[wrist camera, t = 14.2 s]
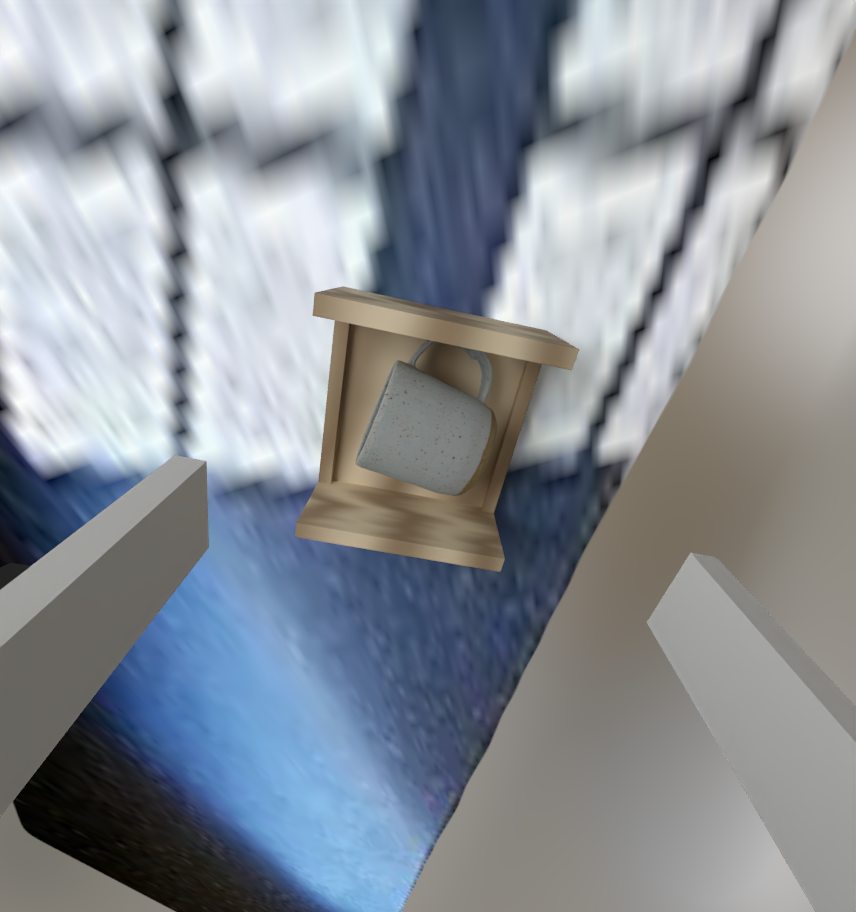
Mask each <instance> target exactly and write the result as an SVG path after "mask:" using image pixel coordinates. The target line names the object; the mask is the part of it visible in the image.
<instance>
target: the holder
mask: <svg viewBox="0 0 856 912" xmlns="http://www.w3.org/2000/svg"><path fill="white" fill-rule="evenodd" d="M313 316H317V317H322V318H326V319H331V320H335V325H334V334H333V344H332V354H331V364H330V374H329V384H328V393H327V403H326V413H325V423H324V433H323V443H322V453H321V462H320V472H319V482H318V484H317V486H316V487H315V489H314V491H313V493H312V495H311V497H310V499H309V501H308V502H307V504H306V506H305V508H304V510H303V512H302V514H301V515H300V517H299V519H298V521H297V523H296V536H295V537H299V538H305V539H311V540H317V541H323V542H328V543H334V544H340V545H346V546H352V547H358V548H364V549H370V550H375V551H381V552H387V553H393V554H399V555H405V556H411V557H416V558H422V559H428V560H434V561H440V562H446V563H452V564H458V565H463V566H469V567H475V568H481V569H487V570H493V571H499V572H500V571H501V568H502V565H503V563H504V560H505V558H504V554H503V550H502V546H501V541H500V537H499V533H498V529H497V525H496V521H495V517H494V511H495V508H496V505H497V501H498V498H499V495H500V492H501V489H502V486H503V483H504V480H505V477H506V473H507V470H508V467H509V464H510V461H511V458H512V455H513V452H514V448H515V445H516V442H517V439H518V436H519V433H520V430H521V427H522V424H523V420H524V417H525V414H526V411H527V408H528V405H529V402H530V399H531V395H532V392H533V389H534V386H535V383H536V380H537V377H538V374H539V371H540V367H541V364H545V365H550V366H555V367H559V368H564V369H569V370H572V368H573V365H574V362H575V359H576V356H577V354H578V351H579V349H577V348H575V347H574V346H572V345H570V344H568V343H567V342H565V341H563V340H561V339H560V338H558V337H556V336H555V335H553V334H551V333H549V332H548V331H545V330H541V329H536V328H532V327H527V326H522V325H518V324H513V323H509V322H504V321H499V320H495V319H490V318H485V317H481V316H476V315H472V314H467V313H462V312H458V311H453V310H449V309H444V308H439V307H435V306H430V305H426V304H421V303H416V302H412V301H407V300H402V299H398V298H393V297H389V296H384V295H379V294H375V293H370V292H366V291H361V290H356V289H352V288H347V287H338V288H334V289H329V290H325V291H321V292H316V293H315V296H314V309H313ZM427 340H431V341H436V343H434V344H432V345H430V346H429V347H428V348H427V349H426V350H425V351H424V352H423V353H422V354H421V355H420V356H419V358H418V359H417V361H416V363H415V365H416V368H417V369H419V370H421V371H423V372H425V373H427V374H429V375H431V376H432V377H434V378H436V379H438V380H441V381H442V382H444V383H446V384H448V385H450V386H451V387H453V388H456V389H458V390H460V391H462V392H465V393H467V394H469V395H471V396H473V397H475V398H477V396H478V393H479V390H480V386H481V379H482V373H481V368H480V364H479V362H478V360H473V359H471V357H470V356H469V354H467V353H466V352H465V351H464V350H462V349H460V348H459V347H464V348H469V349H474V350H478V351H483V352H486V353H487V355H488V357H489V360H490V363H491V366H492V383H491V388H490V391H489V394H488V397H487V398H486V400H485V404H486V406H488V407H489V408H490V409H491V410H492V411H493V412H494V415H495V417H496V421H497V434H496V440H495V443H494V447H493V451H492V453H491V456H490V458H489V461H488V463H487V465H486V467H485V469H484V471H483V473H482V475H481V476H480V478H479V479H478V481H477V482H476V484H475V485H474V486H473V487H472V488H471V489H470V490H468V491H467V492H466V493H464V494H462V495H458V496H452V495H445V494H439V493H435V492H432V491H429V490H427V489H424V488H421V487H418V486H416V485H413V484H409V483H406V482H403V481H400V480H397V479H394V478H391V477H388V476H385V475H382V474H380V473H377V472H373V471H370V470H367V469H364V468H361V467H359V466H358V465H356V463H355V461H356V457H357V453H358V450H359V447H360V444H361V441H362V438H363V435H364V433H365V430H366V427H367V425H368V422H369V420H370V417H371V415H372V412H373V410H374V407H375V405H376V402H377V400H378V398H379V395H380V393H381V390H382V389H383V387H384V384H385V382H386V379H387V377H388V375H389V373H390V371H391V368H392V367H393V365H394V363H395V362H396V361H398V360H400V361H402V362H405V363H408V362H409V360H410V358H411V357H412V356H413V355H414V353H415V352H416V351H417V349H418V348H419V347H420V346H421V345H422V344H423V343H424V342H425V341H427ZM457 346H459V347H457Z"/></svg>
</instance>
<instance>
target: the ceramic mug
mask: <svg viewBox="0 0 856 912" xmlns="http://www.w3.org/2000/svg"><path fill="white" fill-rule="evenodd" d="M434 343H436V341H431V340H427V341H425V342H424V343H423V344H422V345H421V346H420V347H419V348H418V349H417V351H416V352H415V353H414V355H413V356H412V357H411V358H410V360H409V362H408V363H405V362H402V361H400V360H398V361H396V362H395V363H394V365H393V367H392V368H391V371H390V373H389V375H388V377H387V379H386V382H385V384H384V387H383V389H382V390H381V393H380V395H379V398H378V400H377V402H376V405H375V407H374V410H373V412H372V415H371V417H370V420H369V422H368V425H367V427H366V430H365V433H364V435H363V438H362V441H361V444H360V447H359V450H358V453H357V457H356V461H355V463H356V465H358V466H359V467H361V468H364V469H367V470H370V471H373V472H377V473H380V474H382V475H385V476H388V477H391V478H394V479H397V480H400V481H403V482H406V483H409V484H413V485H416V486H418V487H421V488H424V489H427V490H429V491H432V492H435V493H439V494H445V495H452V496H458V495H462V494H464V493H466V492H467V491H468V490H470V489H471V488H472V487H473V486H474V485H475V484H476V482H477V481H478V479H479V478H480V476H481V475H482V473H483V471H484V469H485V467H486V465H487V463H488V461H489V458H490V456H491V453H492V451H493V447H494V443H495V440H496V434H497V421H496V417H495V415H494V412H493V411H492V410H491V409H490V408H489V407H488V406H486V404H485V400H486V398H487V397H488V394H489V391H490V388H491V383H492V366H491V363H490V360H489V357H488V355H487V353H486V352H483V351H478V350H474V349H469V348H464V347H459V346H457V347H459V348H460V349H462V350H464V351H465V352H466V353H467V354H469V356H470V357H471V359H473V360H478V362H479V364H480V368H481V373H482V379H481V386H480V390H479V393H478V396H477V398H475V397H473V396H471V395H469V394H467V393H465V392H462V391H460V390H458V389H456V388H453V387H451V386H450V385H448V384H446V383H444V382H442V381H441V380H438V379H436V378H434V377H432V376H431V375H429V374H427V373H425V372H423V371H421V370H419V369H417V368H416V365H415V363H416V361H417V359H418V358H419V356H420V355H421V354H422V353H423V352H424V351H425V350H426V349H427V348H428V347H429V346H430V345H432V344H434Z"/></svg>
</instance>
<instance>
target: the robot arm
mask: <svg viewBox="0 0 856 912" xmlns="http://www.w3.org/2000/svg"><path fill="white" fill-rule="evenodd" d="M208 548H209V537H208V501H207V466H206V461H202V460H197V459H192V458H186V457H181V456H176V455H175V456H173V457H172V458H171V459H170V460H168V461H167V462H166V463H164V464H163V465H162V466H160V467H159V468H158V469H157V470H155V471H154V472H153V473H151V474H150V475H149V476H147V477H146V478H145V479H144V480H142V481H141V482H140V483H138V484H137V485H136V486H135V487H133V488H132V489H131V490H129V491H128V492H127V493H125V494H124V495H123V496H122V497H120V498H119V499H118V500H116V501H115V502H114V503H112V504H111V505H110V506H109V507H107V508H106V509H105V510H103V511H102V512H101V513H99V514H98V515H97V516H96V517H94V518H93V519H92V520H90V521H89V522H88V523H86V524H85V525H84V526H83V527H81V528H80V529H79V530H77V531H76V532H75V533H73V534H72V535H71V536H70V537H68V538H67V539H66V540H64V541H63V542H62V543H61V544H59V545H58V546H57V547H55V548H54V549H53V550H51V551H50V552H49V553H48V554H46V555H45V556H44V557H42V558H41V559H40V560H38V561H37V562H36V563H35V564H33V565H32V566H26V565H20V564H14V563H10V564H8V565H5V566H3V567H1V568H0V817H1V815H2V814H3V813H4V812H5V810H6V809H7V808H8V807H9V805H10V804H11V803H12V801H13V800H14V799H15V798H16V796H17V795H18V794H19V792H20V791H21V790H22V788H23V787H24V786H25V785H26V783H27V782H28V781H29V779H30V778H31V777H32V776H33V774H34V773H35V772H36V770H37V769H38V768H39V766H40V765H41V764H42V763H43V761H44V760H45V759H46V757H47V756H48V755H49V754H50V752H51V751H52V750H53V748H54V747H55V746H56V744H57V743H58V742H59V741H60V739H61V738H62V737H63V735H64V734H65V733H66V731H67V730H68V729H69V728H70V726H71V725H72V724H73V722H74V721H75V720H76V719H77V717H78V716H79V715H80V713H81V712H82V711H83V709H84V708H85V707H86V706H87V704H88V703H89V702H90V700H91V699H92V698H93V697H94V695H95V694H96V693H97V691H98V690H99V689H100V687H101V686H102V685H103V684H104V682H105V681H106V680H107V678H108V677H109V676H110V674H111V673H112V672H113V671H114V669H115V668H116V667H117V665H118V664H119V663H120V662H121V660H122V659H123V658H124V656H125V655H126V654H127V652H128V651H129V650H130V649H131V647H132V646H133V645H134V643H135V642H136V641H137V640H138V638H139V637H140V636H141V634H142V633H143V632H144V630H145V629H146V628H147V627H148V625H149V624H150V623H151V621H152V620H153V619H154V617H155V616H156V615H157V614H158V612H159V611H160V610H161V608H162V607H163V606H164V605H165V603H166V602H167V601H168V599H169V598H170V597H171V595H172V594H173V593H174V592H175V590H176V589H177V588H178V586H179V585H180V584H181V583H182V581H183V580H184V579H185V577H186V576H187V575H188V573H189V572H190V571H191V570H192V568H193V567H194V566H195V564H196V563H197V562H198V561H199V559H200V558H201V557H202V555H203V554H204V553H205V551H206V550H207V549H208ZM647 623H648V625H649V627H650V629H651V631H652V632H653V634H654V635H655V637H656V639H657V641H658V643H659V644H660V646H661V648H662V649H663V651H664V653H665V655H666V656H667V658H668V660H669V661H670V663H671V665H672V667H673V668H674V670H675V672H676V673H677V675H678V677H679V679H680V680H681V682H682V683H683V685H684V687H685V689H686V691H687V692H688V694H689V696H690V697H691V699H692V701H693V703H694V704H695V706H696V708H697V709H698V711H699V713H700V715H701V716H702V718H703V720H704V721H705V723H706V725H707V727H708V728H709V730H710V732H711V733H712V735H713V737H714V738H715V740H716V742H717V744H718V745H719V747H720V749H721V750H722V752H723V754H724V756H725V758H726V759H727V761H728V763H729V764H730V766H731V768H732V770H733V771H734V773H735V775H736V776H737V778H738V780H739V781H740V783H741V785H742V787H743V788H744V790H745V792H746V794H747V795H748V797H749V799H750V800H751V802H752V804H753V806H754V807H755V809H756V810H757V812H758V814H759V816H760V818H761V819H762V821H763V822H764V824H765V826H766V828H767V830H768V831H769V833H770V835H771V836H772V838H773V840H774V842H775V843H776V845H777V847H778V848H779V850H780V852H781V854H782V855H783V857H784V859H785V860H786V862H787V864H788V866H789V867H790V869H791V871H792V872H793V874H794V876H795V878H796V879H797V881H798V883H799V884H800V886H801V888H802V889H803V891H804V893H805V895H806V896H807V898H808V900H809V901H810V903H811V905H812V907H813V908H814V910H815V912H856V706H855V705H854V704H853V703H852V702H851V700H850V699H849V698H848V697H847V696H846V695H845V694H844V693H843V692H842V691H841V690H840V689H839V688H838V687H837V686H836V685H835V683H834V682H833V681H832V680H831V679H830V678H829V677H828V676H827V675H826V674H825V673H824V672H823V671H822V670H821V669H820V668H819V666H818V665H817V664H816V663H815V662H814V661H813V660H812V659H811V658H810V657H809V656H808V655H807V654H806V653H805V652H804V650H803V649H802V648H801V647H800V646H799V645H798V644H797V643H796V642H795V641H794V640H793V639H792V638H791V637H790V636H789V635H788V634H787V633H786V631H785V630H784V629H783V628H782V627H781V626H780V625H779V624H778V623H777V622H776V621H775V620H774V619H773V617H772V616H771V615H770V614H769V613H768V612H767V611H766V610H765V609H764V608H763V607H762V606H761V605H760V604H759V603H758V602H757V600H755V598H754V597H753V596H752V595H751V594H750V593H749V592H748V591H747V590H746V589H745V588H744V587H743V586H742V585H741V583H740V582H739V581H738V580H737V579H736V578H735V577H734V576H733V575H732V574H731V573H730V572H729V571H728V570H727V569H726V567H725V566H724V565H723V564H722V563H721V562H720V561H719V560H718V559H717V558H716V557H711V556H705V555H700V554H695V553H690V555H689V556H688V558H687V559H686V561H685V563H684V564H683V566H682V567H681V569H680V571H679V572H678V574H677V575H676V577H675V579H674V580H673V582H672V583H671V585H670V586H669V588H668V590H667V591H666V593H665V594H664V596H663V598H662V599H661V601H660V602H659V604H658V606H657V607H656V609H655V610H654V612H653V614H652V615H651V617H650V618H649V620H648V621H647Z"/></svg>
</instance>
